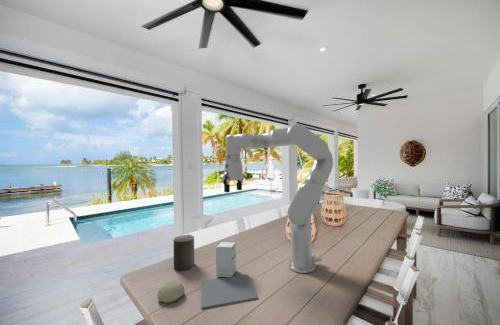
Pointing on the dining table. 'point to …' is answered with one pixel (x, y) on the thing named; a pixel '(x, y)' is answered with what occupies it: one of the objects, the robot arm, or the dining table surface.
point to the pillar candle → (183, 252)
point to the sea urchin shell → (170, 291)
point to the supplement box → (226, 259)
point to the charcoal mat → (227, 291)
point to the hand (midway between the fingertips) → (233, 191)
